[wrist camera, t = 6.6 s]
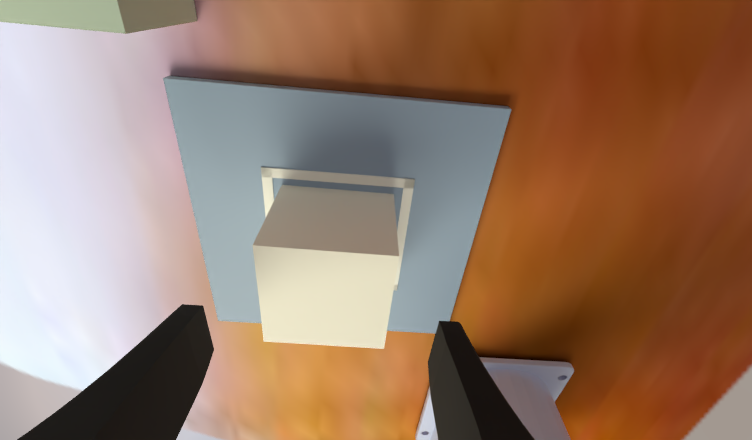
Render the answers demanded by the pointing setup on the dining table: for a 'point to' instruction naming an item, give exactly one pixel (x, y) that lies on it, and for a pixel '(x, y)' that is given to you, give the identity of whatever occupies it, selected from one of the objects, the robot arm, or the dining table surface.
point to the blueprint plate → (336, 178)
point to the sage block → (99, 14)
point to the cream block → (327, 267)
